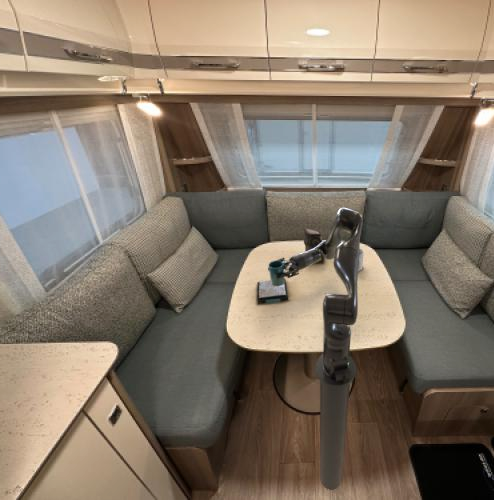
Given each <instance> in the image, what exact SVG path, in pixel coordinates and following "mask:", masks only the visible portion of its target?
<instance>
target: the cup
mask: <svg viewBox="0 0 494 500" xmlns="http://www.w3.org/2000/svg"><path fill="white" fill-rule="evenodd" d="M278 260H279V259H277V260H272V261H270V262H269V263H268V267H269V271H268V273H269V281H270V280H271V284H272V285H273V286H281V285H283V284H284V283H285V279H286V278H285V277H282V278H280V279H277V278H276V274H279V273H281V272H284V271H285V270H284V266H283V262H282V261H278Z"/></svg>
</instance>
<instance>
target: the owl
mask: <svg viewBox="0 0 494 500" xmlns="http://www.w3.org/2000/svg"><path fill="white" fill-rule="evenodd" d="M303 230H304V239H303V244H304V252H306V251H309V250H311V249H313V248H315V247H316V246H318V245H319V244H320V243H321V242H322V241H323V237H322V234H321V233H319V232H318V231H317V230H314V229H309V228H306V227H304V229H303ZM320 252H321V251H320ZM321 256H322V258H321V260H320V261H318V262H316V263H315V264H324V263H325V258H324V256H323V254H322V253H321Z"/></svg>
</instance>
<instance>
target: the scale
mask: <svg viewBox="0 0 494 500" xmlns="http://www.w3.org/2000/svg"><path fill="white" fill-rule="evenodd" d="M256 284H257V285H256V287H257V288H256V291H257V292H256V293H257V294H256V295H257V296H256V300H257V305H262V304H273V303H278V302H284V301H285V302H286V301H289V293H288V287H287V280H286V278H285V283H284V284H283V285H281V286H273V285H272V284H271V280H270V279H269V280H261V281H257V282H256Z"/></svg>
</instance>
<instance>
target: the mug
mask: <svg viewBox="0 0 494 500" xmlns="http://www.w3.org/2000/svg"><path fill="white" fill-rule="evenodd" d="M363 262H364V250H363V249H361V248H360V251H359V270H358V272H360V271H361V270H363Z"/></svg>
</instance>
